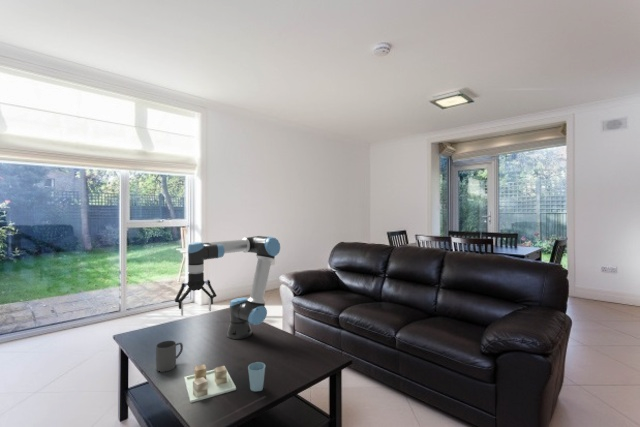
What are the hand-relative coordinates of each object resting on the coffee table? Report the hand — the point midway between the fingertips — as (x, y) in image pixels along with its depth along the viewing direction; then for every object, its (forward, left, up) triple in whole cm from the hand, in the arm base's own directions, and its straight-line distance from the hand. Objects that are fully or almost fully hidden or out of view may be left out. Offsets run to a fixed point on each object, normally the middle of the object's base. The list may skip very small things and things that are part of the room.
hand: (196, 312), depth 163 cm
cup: (-20, +38, -27) cm, 51 cm away
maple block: (+3, +31, -26) cm, 41 cm away
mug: (+12, -4, -27) cm, 30 cm away
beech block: (-7, +25, -26) cm, 37 cm away
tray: (-2, +25, -27) cm, 36 cm away
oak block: (+1, +19, -26) cm, 32 cm away
